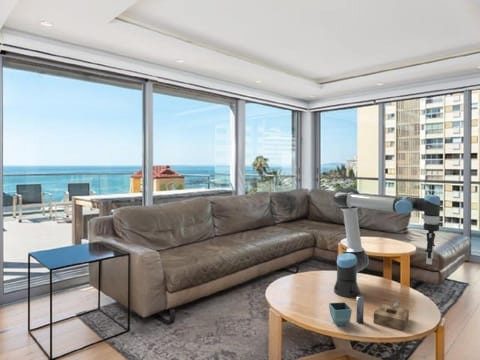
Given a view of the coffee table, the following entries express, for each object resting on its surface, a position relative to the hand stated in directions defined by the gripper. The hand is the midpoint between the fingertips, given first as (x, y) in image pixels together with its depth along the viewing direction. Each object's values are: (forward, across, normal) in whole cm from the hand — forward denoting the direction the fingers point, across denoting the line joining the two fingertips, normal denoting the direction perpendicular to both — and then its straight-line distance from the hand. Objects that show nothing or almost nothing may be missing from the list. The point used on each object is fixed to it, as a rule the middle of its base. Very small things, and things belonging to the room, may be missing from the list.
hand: (429, 260), depth 185 cm
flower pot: (+26, -46, +36) cm, 64 cm away
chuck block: (+26, -24, +14) cm, 38 cm away
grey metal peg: (+26, -40, +28) cm, 55 cm away
